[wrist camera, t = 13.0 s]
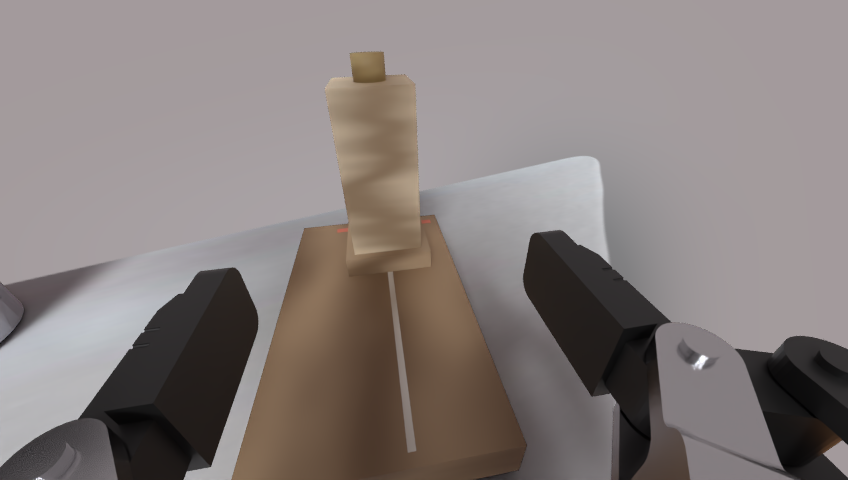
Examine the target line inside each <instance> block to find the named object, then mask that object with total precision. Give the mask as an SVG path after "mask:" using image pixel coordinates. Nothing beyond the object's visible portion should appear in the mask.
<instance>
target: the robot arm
mask: <svg viewBox="0 0 848 480" xmlns="http://www.w3.org/2000/svg"><path fill="white" fill-rule="evenodd" d="M523 282H524V288H525V291H526V293H527V295H528V297H529V299H530V300H531V302H532V303H533V305H534V307H535V308H536V310H537V311H538V313H539V314H540V316H541V318H542V319H543V321H544V322H545V324H546V325H547V327H548V329H549V330H550V332H551V333H552V335H553V336H554V338H555V340H556V341H557V343H558V344H559V346H560V347H561V349H562V351H563V352H564V354H565V355H566V357H567V358H568V360H569V362H570V363H571V365H572V366H573V368H574V369H575V371H576V373H577V374H578V376H579V377H580V379H581V380H582V382H583V384H584V385H585V387H586V388H587V390H588V391H589V393H590V395H591V396H592V397H593V396H599V395H604V394H609V393H611V395H612V396H613V398H614V399H615V400H616V404H615V406H614V409H613V433H612V466H611V480H848V478H847V477H846V476H845V475H844V474H843V473H842V472H841V471H840V470H839V469H838V468H837V467H836V466H835V465H834V464H833V463H832V462H831V461H830V460H829V459H828V458H827V457H825V456H824V455H823V453H825V452H826V451H827V450H829V449H830V448H832V447H833V446H835V445H836V444H837V443H839V442H840V441H842V440H843V441H844V442H845V443H846V444H848V349H846V348H843V347H841V346H839V345H836V344H834V343H831V342H828V341H824V340H821V339H818V338H813V337H806V336H794V337H790V338H788V339H786V340H785V341H784V343H783V344H782V345H781V346H780V347H779V348H778V349H777V350H776V351H775V352H774V353H766V352H758V351H750V350H741V349H734V348H733V347H732V346H731V345H729V344H728V343H727V342H726V341H724V340H723V339H721V338H720V337H718V336H717V335H715V334H713V333H711V332H709V331H707V330H705V329H702V328H700V327H697V326H694V325H690V324H685V323H675V322H670V321H669V320H668V319H667V318H666V317H665V316H664V315H663V314H662V313H661V312H660V311H659V310H658V309H656V308H655V307H654V306H653V305H652V304H651V303H650V302H649V301H648V300H647V299H646V298H645V297H644V296H643V295H641V294H640V293H639V292H638V291H637V290H636V289H635V288H634V287H633V286H632V285H631V284H630V283H628V282H627V281H624V280H623V277H622V276H621V275H620V274H619V273H618V272H617V271H615V270H612V267H611V266H610V265H609V264H608V263H607V262H606V261H605V260H604V259H603V258H602V257H601V256H600V255H598V254H596V253H594V252H593V251H591V250H589V249H587V248H585V247H583V246H581V245H577V244H576V243H575V242H574V241H573V240H572V239H571V238H570V237H569V236H568V235H567V234H566V233H565V232H563V231H561V230H557V231H548V232H540V233H534V234H533V235H532V236H531V238H530V242H529V248H528V253H527V258H526V264H525V269H524V274H523ZM23 312H24V308H23V305H22V303H21V302H20V301H19V300H18V299H17V298H16V297H15V296H14V295H13V294H12V293H11V292H10V291H9V290H8V289H7V288H6V287H5V286H4V285H3V284H2V283H1V282H0V342H1V341H2V340H3V339H4V338H6V337H7V336H8V335H9V334H10V333H11V332H12V331H13V330H14V328H15V327H16V326H17V324H18V323H19V321H20V320H21V318H22V315H23ZM144 330H145V332H144V333H141V334H140V336H139V337H138V338H137V340H136V341H135V342H134V344H133V349H129V351H128V352H127V353H126V355H125V356H124V357H123V359H122V360H121V362H120V363H119V364H118V366H117V367H116V368H115V370H114V371H113V372H112V374H111V375H110V377H109V378H108V379H107V381H106V382H105V383H104V385H103V386H102V387H101V389H100V390H99V392H98V393H97V394H96V396H95V397H94V398H93V400H92V401H91V402H90V404H89V405H88V407H87V408H86V409H85V411H84V412H83V413H82V415H81V416H80V417H79V419H78V420H74V421H71V422H67V423H65V424H62V425H60V426H57V427H55V428H53V429H51V430H49V431H47V432H45V433H44V434H42V435H40V436H39V437H37V438H35V439H34V440H33V441H31V442H30V443H28V444H27V445H25V446H24V447H23V448H21V449H20V450H19V451H18V452H16V453H15V454H14V455H13V456H12V457H11V458H10V459H8V460H7V461H6V462H5V463H4V464H3V465H2V466H1V467H0V480H183V479H184V477H185V474H186V472H187V471H192V470H197V469H202V468H208V467H211V465H212V462H213V459H214V456H215V453H216V450H217V447H218V444H219V442H220V439H221V436H222V433H223V430H224V427H225V424H226V421H227V418H228V416H229V413H230V410H231V407H232V404H233V401H234V398H235V395H236V392H237V390H238V387H239V384H240V381H241V378H242V375H243V372H244V369H245V366H246V364H247V361H248V358H249V355H250V352H251V349H252V346H253V343H254V340H255V338H256V335H257V331H258V314H257V310H256V308H255V306H254V303H253V301H252V299H251V297H250V294H249V292H248V290H247V288H246V285H245V283H244V281H243V279H242V277H241V274H240V272H239V271H238V270H237V269H236V268H224V269H216V270H207V271H201V272H199V273H197V275H196V276H195V277H194V279H193V280H192V282H191V283H190V285H189V286H188V288H187V289H186V291H185V292H184V293H183V294H178V295H177V296H175V297H174V298H173V299H172V300H170V301H169V302H168V303H167V304H165V305H164V306H163V307H162V308H160V309H159V310H158V311H157V312H156V314H155V315H154V316H153V318H152V319H151V321H150V322H149V323H148V325H147V326H146V327H145V329H144Z"/></svg>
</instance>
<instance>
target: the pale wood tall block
mask: <svg viewBox="0 0 848 480" xmlns="http://www.w3.org/2000/svg"><path fill="white" fill-rule="evenodd" d="M350 59H351V67H352V74H353V77H344V78H343V77H342V78H331V80H330V81H329V83H328V85H327V86H326V88H325V93H326V98H327V104H328V109H329V115H330V121H331V126H332V132H333V137H334V143H335V148H336V154H337V159H338V165H339V170H340V176H341V181H342V187H343V192H344V198H345V204H346V209H347V215H348V220H349V222H348V237H347V252H346V264H347V269H348V274H349V277H352V276H360V275H368V274H376V273H384V272H392V271H400V270H408V269H416V268H424V267H431V250H430V247H429V244H428V241H427V238H426V234H425V231H424V228H423V225H422V222H421V219H420V201H419V176H418V175H419V174H418V147H417V122H416V121H417V120H416V93H415V84H414V82H412V81H411V80H410V79H409V78H408V77H407V76H406V75H405V74H404V75H385V64H384V52H356V53H350Z"/></svg>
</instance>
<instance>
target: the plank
mask: <svg viewBox="0 0 848 480" xmlns="http://www.w3.org/2000/svg"><path fill="white" fill-rule="evenodd" d="M420 219H421V222H422V225H423V228H424V231H425V234H426V238H427V241H428V244H429V247H430V250H431V267H424V268H416V269H408V270H400V271H392V272H384V273H376V274H368V275H360V276H352V277H349V274H348V269H347V264H346V252H347V237H348V224H342V225H332V226H323V227H313V228H304V231H303V235H302V238H301V242H300V245H299V249H298V252H297V255H296V259H295V262H294V266H293V269H292V273H291V276H290V280H289V283H288V286H287V290H286V293H285V297H284V300H283V304H282V307H281V311H280V314H279V317H278V321H277V324H276V328H275V331H274V335H273V338H272V342H271V345H270V349H269V352H268V355H267V359H266V362H265V366H264V369H263V373H262V376H261V380H260V383H259V386H258V390H257V393H256V397H255V400H254V404H253V407H252V411H251V414H250V417H249V421H248V424H247V428H246V431H245V435H244V438H243V442H242V445H241V448H240V452H239V455H238V459H237V462H236V466H235V469H234V473H233V476H232V479H231V480H474V479H479V478H484V477H489V476H493V475H498V474H503V473H507V472H512V471H517V470H519V468H520V465H521V462H522V459H523V456H524V453H525V450H526V447H527V444H526V442H525V439H524V437H523V434H522V432H521V429H520V427H519V424H518V422H517V419H516V417H515V414H514V412H513V409H512V407H511V404H510V402H509V399H508V397H507V395H506V392H505V390H504V387H503V385H502V382H501V380H500V377H499V375H498V372H497V370H496V367H495V365H494V362H493V360H492V357H491V355H490V352H489V350H488V347H487V345H486V342H485V340H484V337H483V335H482V332H481V330H480V327H479V325H478V322H477V320H476V317H475V315H474V312H473V310H472V307H471V305H470V302H469V300H468V297H467V295H466V292H465V290H464V287H463V285H462V282H461V280H460V277H459V275H458V272H457V270H456V268H455V265H454V263H453V260H452V258H451V255H450V253H449V250H448V248H447V245H446V243H445V240H444V238H443V235H442V233H441V230H440V228H439V225H438V223H437V220H436V218H435V215H429V216H420Z"/></svg>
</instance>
